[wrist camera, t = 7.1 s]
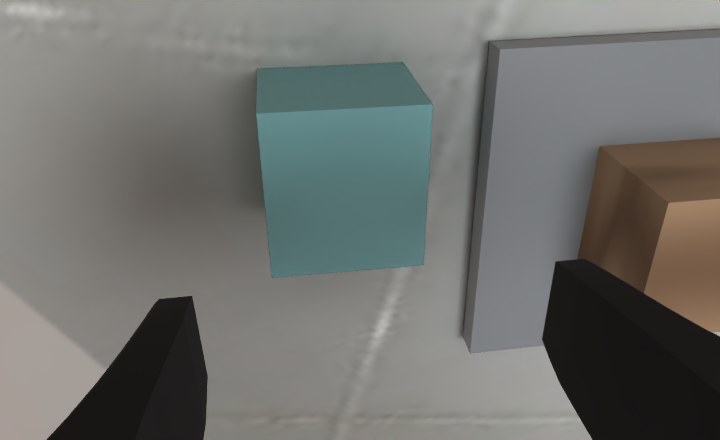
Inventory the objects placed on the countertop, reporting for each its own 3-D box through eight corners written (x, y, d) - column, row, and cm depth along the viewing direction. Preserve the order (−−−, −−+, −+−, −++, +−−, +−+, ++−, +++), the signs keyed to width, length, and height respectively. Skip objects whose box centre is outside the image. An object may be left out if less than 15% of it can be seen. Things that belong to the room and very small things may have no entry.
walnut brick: (687, 259, 23) (760, 327, 20) (575, 269, 23) (630, 341, 19) (725, 137, 21) (816, 190, 17) (599, 146, 20) (668, 202, 17)
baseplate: (732, 307, 26) (748, 322, 26) (463, 336, 25) (470, 353, 24) (837, 22, 20) (862, 29, 19) (489, 41, 19) (500, 49, 18)
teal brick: (398, 201, 22) (423, 265, 18) (270, 210, 21) (271, 277, 18) (402, 61, 19) (433, 104, 16) (257, 67, 19) (255, 113, 15)
